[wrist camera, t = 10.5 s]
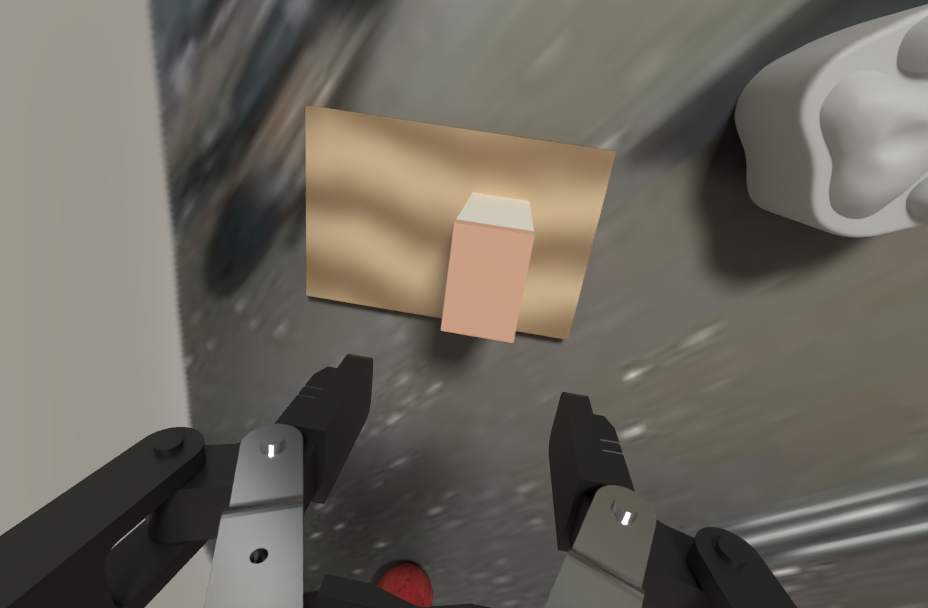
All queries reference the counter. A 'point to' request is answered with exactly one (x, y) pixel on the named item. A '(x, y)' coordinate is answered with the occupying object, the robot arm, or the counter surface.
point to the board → (441, 211)
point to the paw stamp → (843, 129)
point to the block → (488, 267)
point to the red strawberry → (408, 584)
